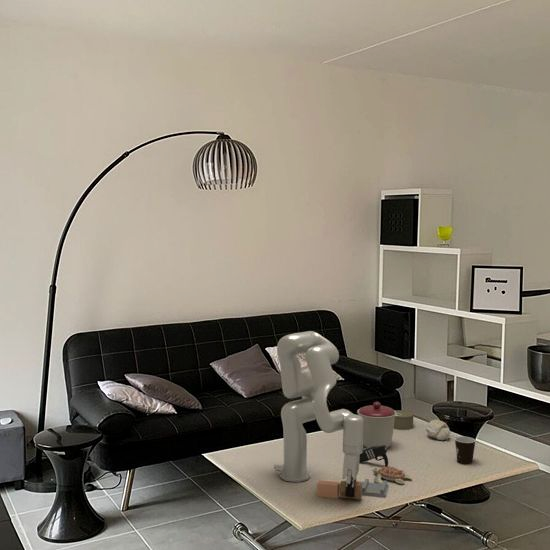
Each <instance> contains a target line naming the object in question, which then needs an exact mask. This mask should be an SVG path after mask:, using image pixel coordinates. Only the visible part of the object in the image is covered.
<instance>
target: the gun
mask: <svg viewBox="0 0 550 550" xmlns="http://www.w3.org/2000/svg"><path fill="white" fill-rule="evenodd" d="M387 453H388V448H386V446H385V445H382V446H373V447H372V446H371V447H368V448H366V447H365V448H363V452H362V454H360V459H359V464H363V463H366V462H368V461H371V460H373V459H374V460H376V462H377V461H378V462H379V461H382V460H383V461H384V467H388V466H389V458H388V456H387Z"/></svg>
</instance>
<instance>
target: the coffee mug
mask: <svg viewBox="0 0 550 550" xmlns="http://www.w3.org/2000/svg"><path fill="white" fill-rule="evenodd" d="M454 443H455V452H456V453H455V454H456V463H458V464H460V465H465V466H466V465H471V464H473V461H474V460H473V459H474V453H475V448H476V447H475V445H476V439H475V438H473V437H469V436H457V437H455V438H454Z"/></svg>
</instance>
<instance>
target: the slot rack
mask: <svg viewBox="0 0 550 550" xmlns="http://www.w3.org/2000/svg"><path fill="white" fill-rule="evenodd" d="M382 481H383V483H382V484H381V483H377V482H371V481H370V479H369V478H365V479H364V481H360V480H359V481H358V480H356V482H362V496H365V497H366V496H369V497H376V498H377V497H378V498H386V496H387V494H388V490H389V487H390V485H389V484H388V480H382Z"/></svg>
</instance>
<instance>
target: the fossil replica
mask: <svg viewBox="0 0 550 550" xmlns="http://www.w3.org/2000/svg"><path fill="white" fill-rule="evenodd" d="M425 431H426V433H427V434H428V435H429V437H430V438H433V439H436V440H437V441H444V440H448V439H449V438H450V435H451V431H450V427H449V426H448V424H447V423H446V422H444V421H442V420H440V419H433V420H430V421H429V423H428V425H427V426H426V427H425Z"/></svg>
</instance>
